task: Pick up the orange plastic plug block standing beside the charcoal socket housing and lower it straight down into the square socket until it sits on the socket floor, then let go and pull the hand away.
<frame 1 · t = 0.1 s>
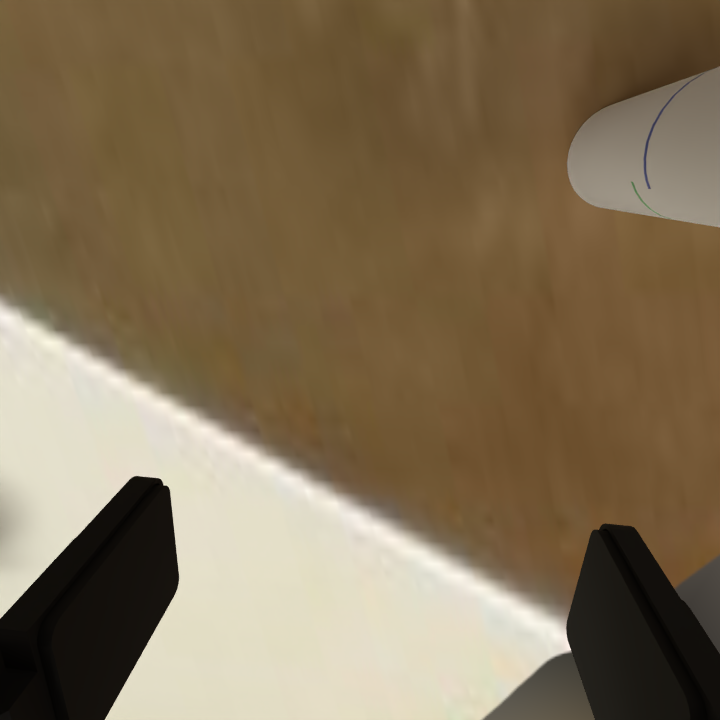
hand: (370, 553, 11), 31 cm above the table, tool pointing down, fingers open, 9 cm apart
cylindrical container: (617, 157, 35), on the table
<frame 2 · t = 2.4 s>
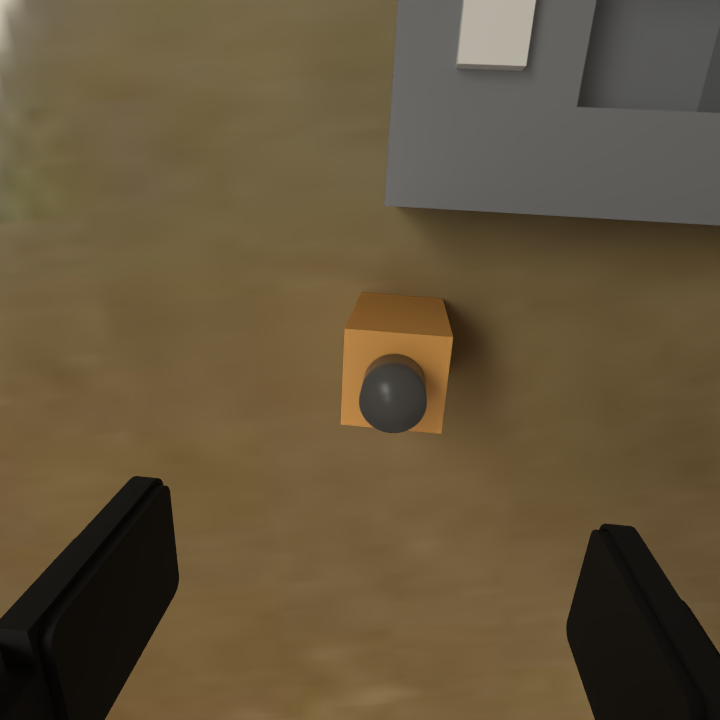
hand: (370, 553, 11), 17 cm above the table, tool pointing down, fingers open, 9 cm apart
socket: (627, 47, 21), on the table
plug: (398, 334, 27), on the table
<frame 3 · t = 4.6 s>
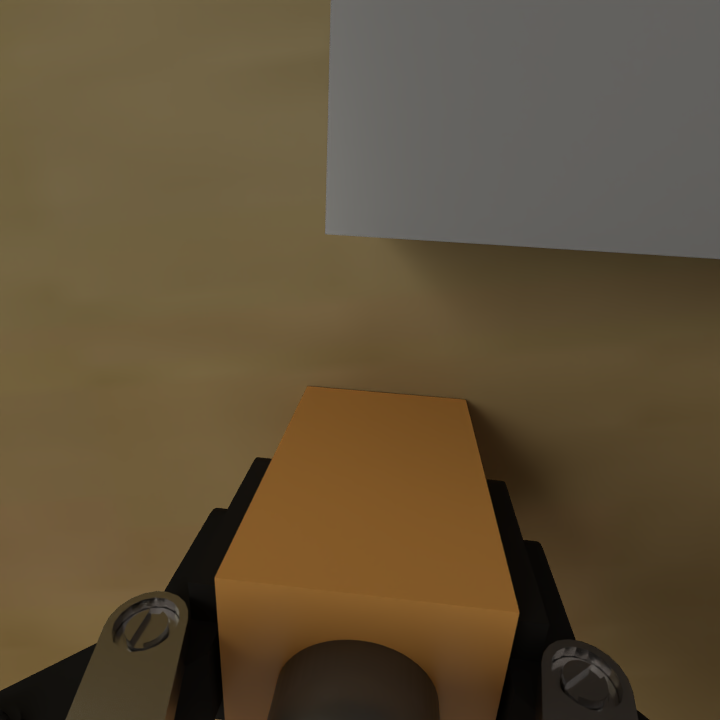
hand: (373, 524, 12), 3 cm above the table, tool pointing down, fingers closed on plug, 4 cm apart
plug: (380, 460, 14), on the table, touching gripper
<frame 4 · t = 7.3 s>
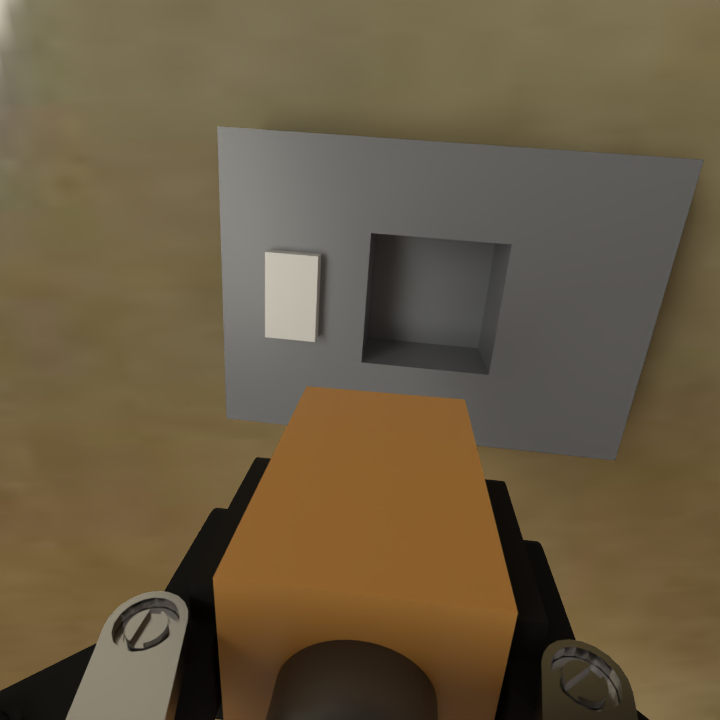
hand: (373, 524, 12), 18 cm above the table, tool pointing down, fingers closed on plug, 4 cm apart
socket: (428, 285, 27), on the table
plug: (379, 460, 14), point 15 cm above the table, touching gripper
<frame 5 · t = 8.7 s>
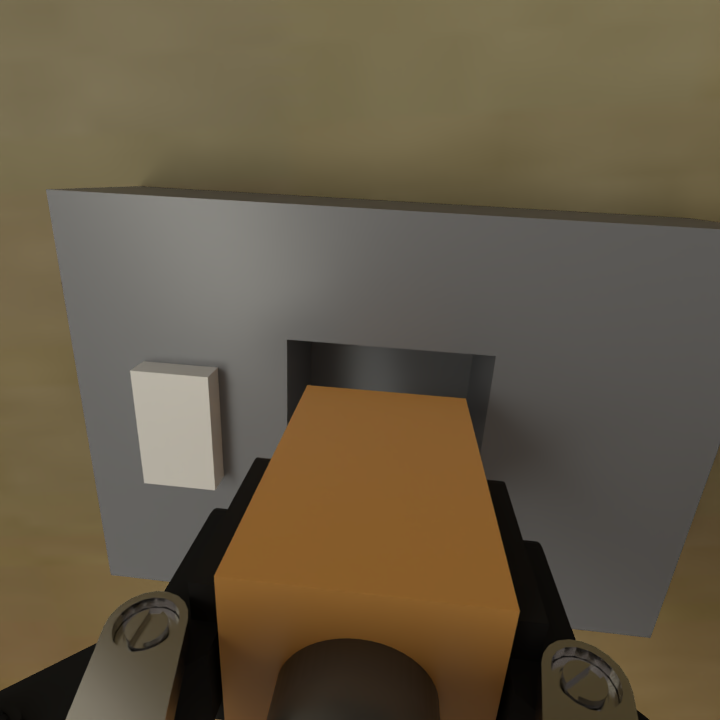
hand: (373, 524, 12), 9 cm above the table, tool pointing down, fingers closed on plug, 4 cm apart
socket: (389, 378, 20), on the table
plug: (380, 459, 14), point 6 cm above the table, touching gripper
when the fingers open (6 cm above the table, at t = 10.1 s): plug drops 2 cm, resting on socket.
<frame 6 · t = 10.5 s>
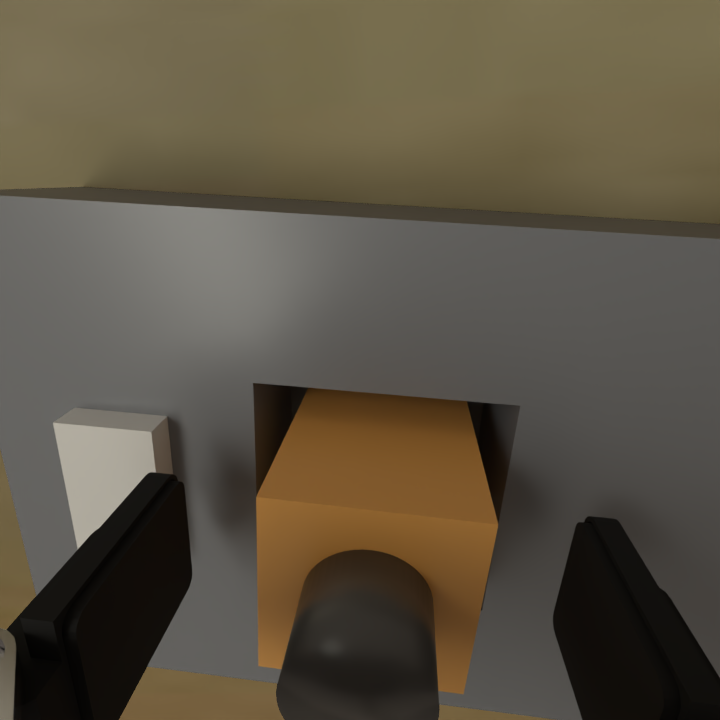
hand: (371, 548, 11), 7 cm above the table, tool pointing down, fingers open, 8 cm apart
socket: (385, 415, 17), on the table
plug: (383, 429, 16), point 1 cm above the table, touching socket
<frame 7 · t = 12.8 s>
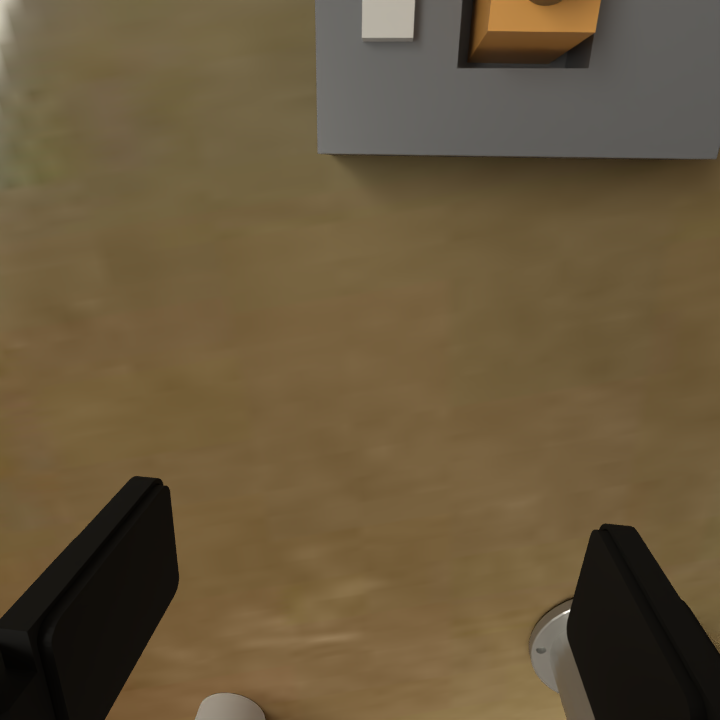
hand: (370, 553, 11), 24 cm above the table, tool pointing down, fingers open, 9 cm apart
cylindrical container: (232, 713, 52), on the table
socket: (509, 19, 27), on the table
plug: (513, 15, 26), point 1 cm above the table, touching socket
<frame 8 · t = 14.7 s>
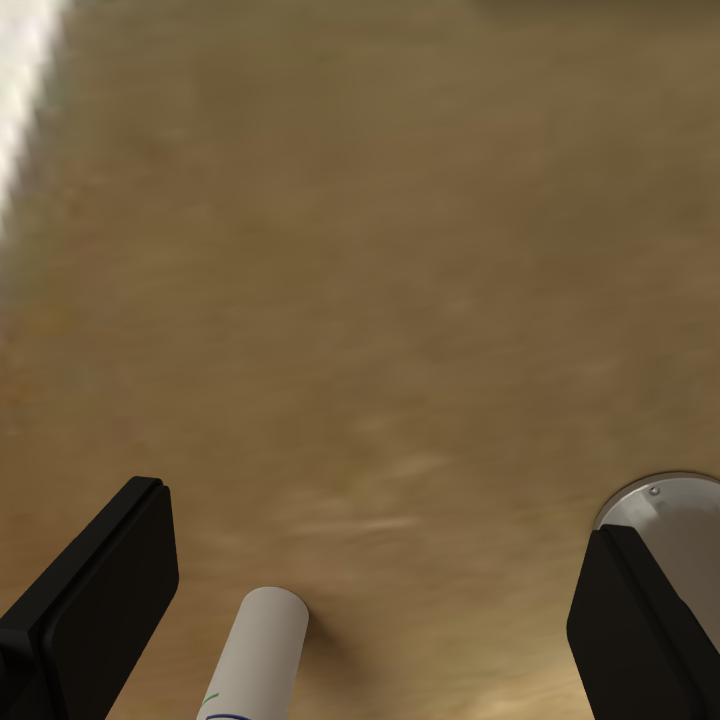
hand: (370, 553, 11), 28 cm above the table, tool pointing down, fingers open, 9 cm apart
cylindrical container: (275, 611, 51), on the table
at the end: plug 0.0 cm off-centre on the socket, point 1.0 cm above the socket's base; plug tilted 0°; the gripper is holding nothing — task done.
